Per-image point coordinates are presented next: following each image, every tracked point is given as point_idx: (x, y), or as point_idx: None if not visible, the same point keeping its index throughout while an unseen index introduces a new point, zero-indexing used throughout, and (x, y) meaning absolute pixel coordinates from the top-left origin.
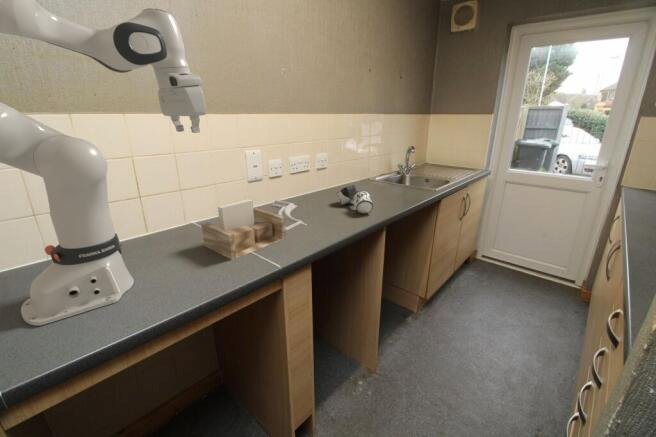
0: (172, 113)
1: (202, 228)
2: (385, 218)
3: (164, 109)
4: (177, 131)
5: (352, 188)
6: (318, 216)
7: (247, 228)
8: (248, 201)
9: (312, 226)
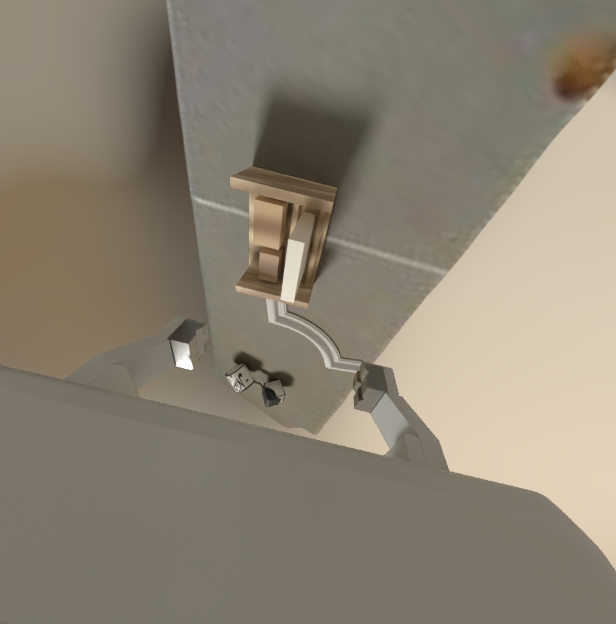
0: (351, 470)
1: (332, 198)
2: (214, 358)
3: (534, 567)
4: (386, 367)
5: (265, 401)
6: (278, 346)
7: (263, 240)
8: (281, 292)
9: (261, 320)
